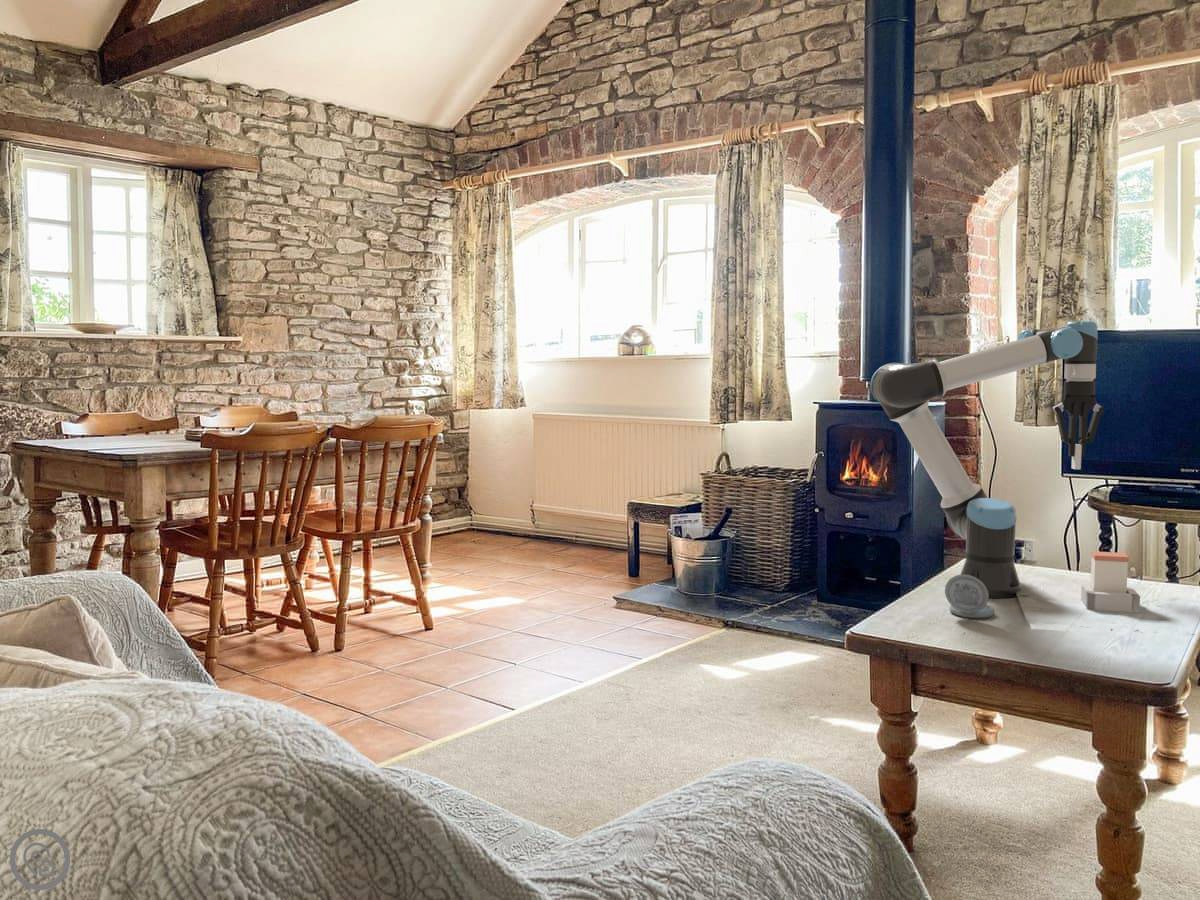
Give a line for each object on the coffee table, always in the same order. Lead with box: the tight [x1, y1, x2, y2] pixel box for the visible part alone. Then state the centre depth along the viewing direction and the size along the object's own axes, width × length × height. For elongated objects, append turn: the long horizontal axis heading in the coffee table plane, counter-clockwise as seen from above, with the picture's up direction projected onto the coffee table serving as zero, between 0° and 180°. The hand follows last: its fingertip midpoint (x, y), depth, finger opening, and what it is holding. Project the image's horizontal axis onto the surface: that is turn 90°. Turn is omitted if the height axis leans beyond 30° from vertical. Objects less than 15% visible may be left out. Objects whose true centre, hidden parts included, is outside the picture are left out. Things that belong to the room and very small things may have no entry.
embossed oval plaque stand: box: [944, 574, 995, 619], centre depth 234 cm, size 10×11×15 cm
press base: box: [1080, 583, 1141, 613], centre depth 239 cm, size 20×14×5 cm
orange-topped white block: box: [1089, 550, 1130, 594], centre depth 238 cm, size 5×7×12 cm
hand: (1076, 468), depth 264 cm, fingers closed
